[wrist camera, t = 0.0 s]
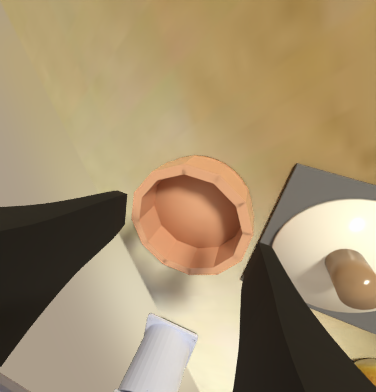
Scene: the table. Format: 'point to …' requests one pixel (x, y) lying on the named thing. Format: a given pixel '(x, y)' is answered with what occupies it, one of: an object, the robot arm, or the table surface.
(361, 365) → the bread roll
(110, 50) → the table surface
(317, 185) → the mat
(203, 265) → the bowl
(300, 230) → the lid
